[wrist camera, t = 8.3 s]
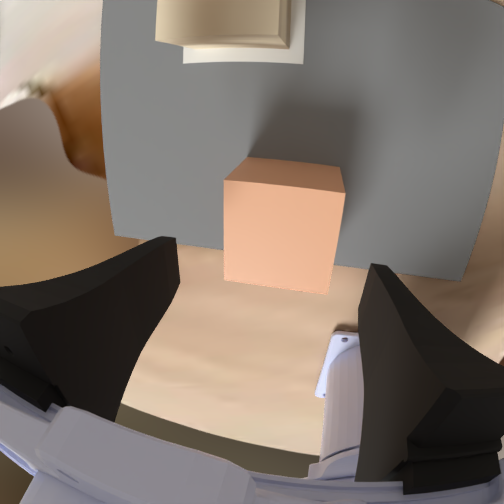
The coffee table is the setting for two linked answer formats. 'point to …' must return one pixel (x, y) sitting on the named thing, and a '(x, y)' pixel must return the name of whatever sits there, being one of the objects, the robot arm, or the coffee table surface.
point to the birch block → (224, 23)
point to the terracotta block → (282, 223)
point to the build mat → (314, 123)
